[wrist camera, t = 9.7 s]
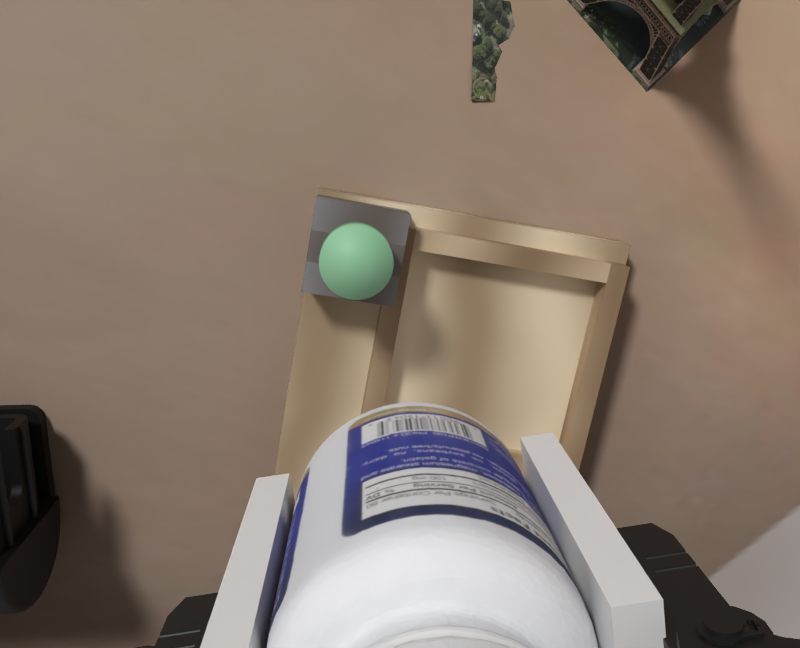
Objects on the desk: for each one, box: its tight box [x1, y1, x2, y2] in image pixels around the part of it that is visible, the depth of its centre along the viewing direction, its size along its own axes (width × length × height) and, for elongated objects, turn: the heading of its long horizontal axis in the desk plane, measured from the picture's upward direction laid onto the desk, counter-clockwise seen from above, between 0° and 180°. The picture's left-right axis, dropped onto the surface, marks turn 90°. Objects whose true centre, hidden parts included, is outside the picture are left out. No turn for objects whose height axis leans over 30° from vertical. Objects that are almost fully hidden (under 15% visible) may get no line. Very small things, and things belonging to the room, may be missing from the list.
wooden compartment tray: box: [275, 188, 631, 502], centre depth 32 cm, size 13×20×3 cm, turn 170°
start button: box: [319, 222, 394, 300], centre depth 28 cm, size 3×3×4 cm
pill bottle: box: [266, 402, 598, 648], centre depth 13 cm, size 5×5×9 cm
